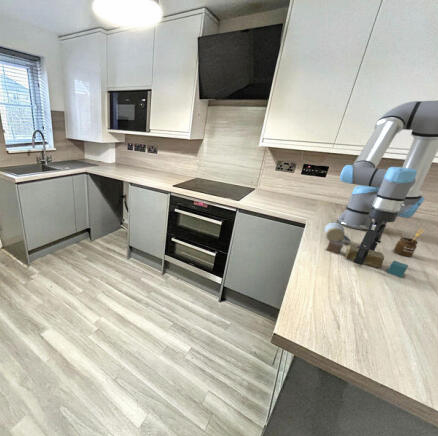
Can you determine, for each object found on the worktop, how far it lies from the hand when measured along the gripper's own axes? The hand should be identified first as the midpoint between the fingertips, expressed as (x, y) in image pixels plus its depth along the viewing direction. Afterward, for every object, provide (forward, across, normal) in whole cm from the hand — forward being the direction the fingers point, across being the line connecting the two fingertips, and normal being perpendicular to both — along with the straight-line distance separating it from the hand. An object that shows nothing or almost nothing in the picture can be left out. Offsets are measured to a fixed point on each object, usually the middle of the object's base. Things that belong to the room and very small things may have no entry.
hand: (362, 259), depth 96 cm
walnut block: (+1, 0, +10) cm, 10 cm away
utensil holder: (+1, +26, -8) cm, 27 cm away
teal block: (+1, 0, -10) cm, 10 cm away
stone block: (+1, 0, 0) cm, 1 cm away
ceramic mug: (+1, +15, +14) cm, 21 cm away
